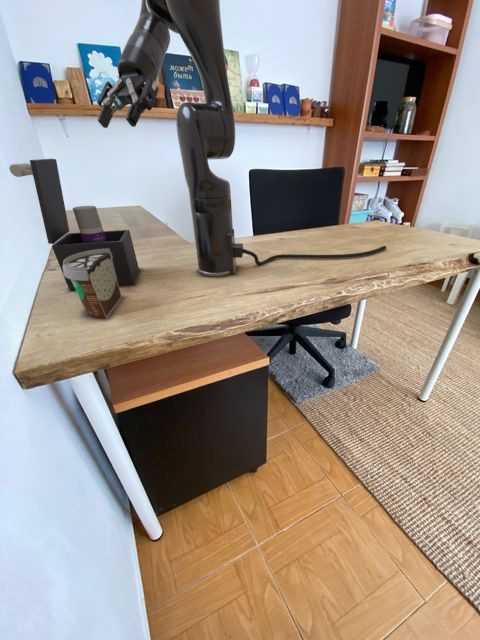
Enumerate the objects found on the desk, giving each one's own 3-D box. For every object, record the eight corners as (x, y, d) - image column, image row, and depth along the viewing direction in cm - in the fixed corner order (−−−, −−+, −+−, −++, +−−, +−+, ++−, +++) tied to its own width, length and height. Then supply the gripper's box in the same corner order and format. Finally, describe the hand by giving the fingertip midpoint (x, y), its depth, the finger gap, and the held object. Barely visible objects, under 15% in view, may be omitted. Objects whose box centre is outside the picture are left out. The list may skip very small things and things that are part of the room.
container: (108, 279, 69) (86, 209, 60) (91, 278, 70) (66, 208, 61) (120, 272, 73) (101, 205, 64) (103, 271, 73) (82, 205, 65)
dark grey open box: (139, 268, 77) (129, 229, 72) (134, 285, 68) (122, 241, 62) (83, 273, 74) (68, 233, 69) (69, 291, 65) (51, 246, 60)
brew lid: (56, 159, 61) (25, 154, 60) (34, 160, 52) (-3, 155, 50) (69, 231, 69) (42, 228, 67) (52, 244, 60) (21, 241, 58)
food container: (94, 296, 63) (77, 248, 57) (124, 294, 63) (110, 247, 58) (68, 324, 53) (44, 269, 47) (103, 322, 53) (84, 268, 47)
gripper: (105, 47, 65) (78, 108, 63) (155, 38, 60) (127, 104, 58) (130, 83, 72) (106, 139, 70) (176, 78, 67) (151, 138, 65)
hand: (115, 123), depth 64 cm, fingers open, 8 cm apart
